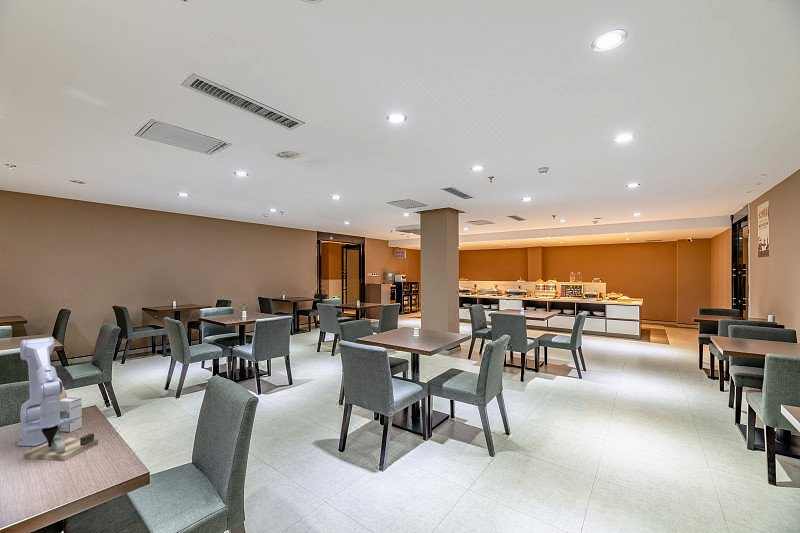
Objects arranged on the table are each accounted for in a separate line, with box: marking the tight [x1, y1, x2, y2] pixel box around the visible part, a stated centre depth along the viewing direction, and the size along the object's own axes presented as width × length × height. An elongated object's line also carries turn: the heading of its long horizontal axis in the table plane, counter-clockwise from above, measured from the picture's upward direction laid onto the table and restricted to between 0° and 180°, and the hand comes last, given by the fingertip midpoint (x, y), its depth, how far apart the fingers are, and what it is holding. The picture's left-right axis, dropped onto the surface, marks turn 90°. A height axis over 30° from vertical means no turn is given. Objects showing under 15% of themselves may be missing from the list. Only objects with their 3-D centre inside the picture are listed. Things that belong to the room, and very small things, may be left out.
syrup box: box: [58, 396, 83, 433], centre depth 165 cm, size 6×6×14 cm
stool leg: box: [51, 434, 65, 453], centre depth 143 cm, size 13×2×3 cm, turn 53°
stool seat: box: [23, 433, 99, 462], centre depth 145 cm, size 18×14×5 cm
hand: (49, 446), depth 143 cm, fingers closed
